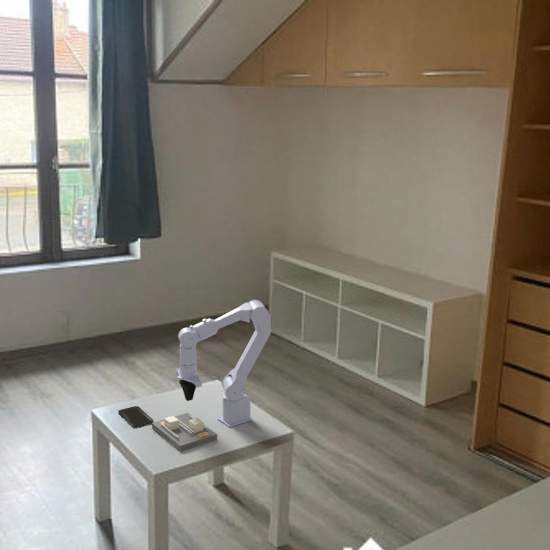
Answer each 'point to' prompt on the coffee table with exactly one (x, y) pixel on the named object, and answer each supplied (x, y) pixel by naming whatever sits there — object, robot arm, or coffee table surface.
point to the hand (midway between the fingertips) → (189, 399)
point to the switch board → (184, 433)
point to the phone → (135, 416)
